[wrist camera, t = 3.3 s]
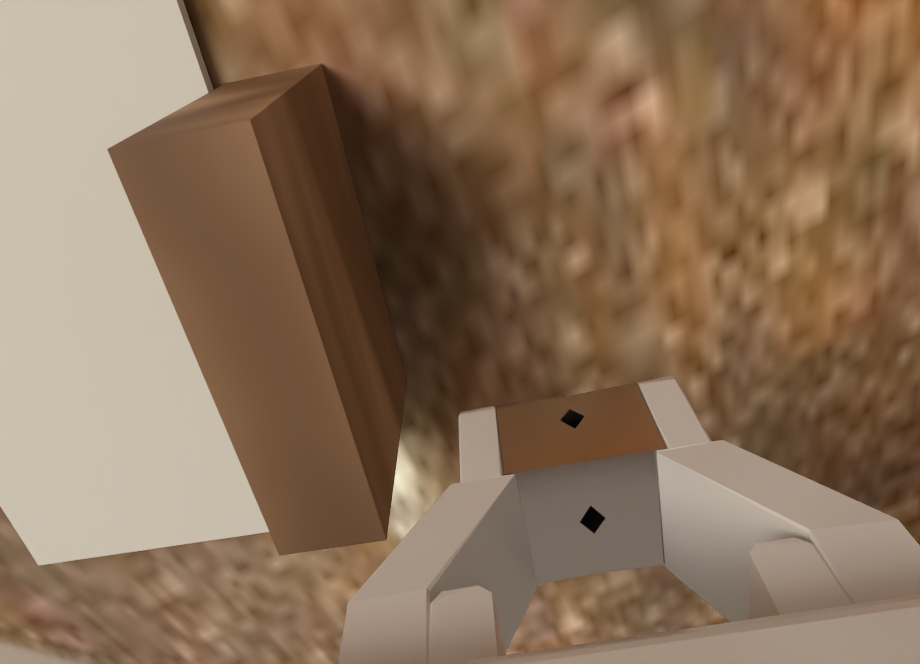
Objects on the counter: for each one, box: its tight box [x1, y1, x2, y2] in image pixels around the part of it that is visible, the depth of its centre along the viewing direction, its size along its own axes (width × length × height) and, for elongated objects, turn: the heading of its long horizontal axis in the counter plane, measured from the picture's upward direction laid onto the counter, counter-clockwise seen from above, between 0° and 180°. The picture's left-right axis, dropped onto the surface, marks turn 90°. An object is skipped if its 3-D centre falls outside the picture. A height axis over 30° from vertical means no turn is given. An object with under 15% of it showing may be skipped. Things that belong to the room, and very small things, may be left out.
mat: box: [0, 0, 269, 565], centre depth 20 cm, size 11×18×1 cm, turn 11°
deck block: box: [107, 64, 407, 555], centre depth 16 cm, size 2×9×6 cm, turn 11°
